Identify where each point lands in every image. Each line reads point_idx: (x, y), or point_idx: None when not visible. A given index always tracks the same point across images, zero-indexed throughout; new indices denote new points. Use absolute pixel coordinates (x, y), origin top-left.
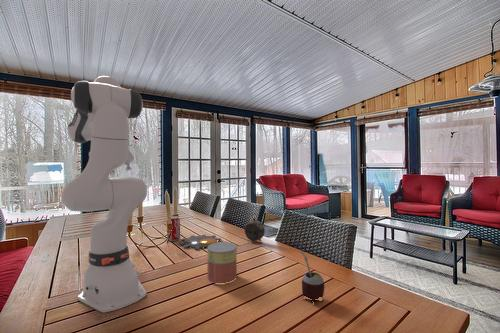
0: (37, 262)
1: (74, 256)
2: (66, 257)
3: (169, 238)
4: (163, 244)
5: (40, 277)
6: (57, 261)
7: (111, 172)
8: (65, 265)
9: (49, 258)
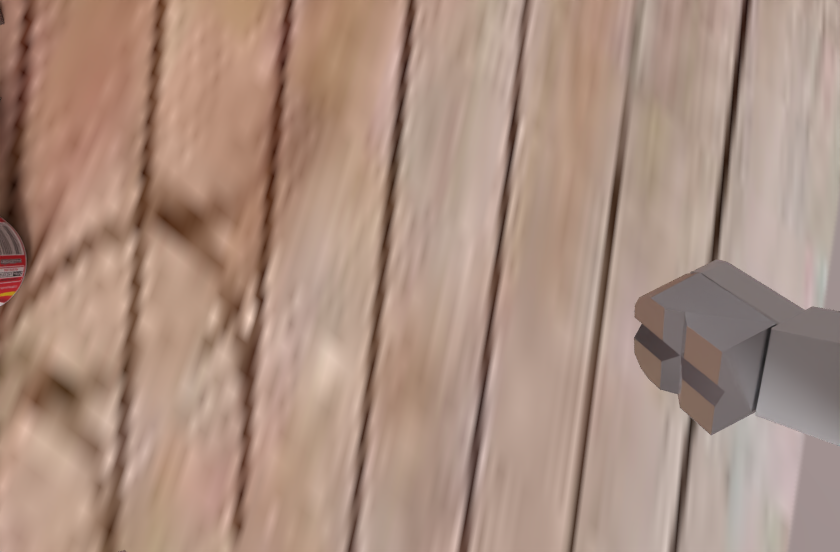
0: None
1: (618, 353)
2: None
3: (13, 236)
4: (90, 209)
5: (780, 131)
6: None
7: (726, 272)
8: (674, 226)
9: None
